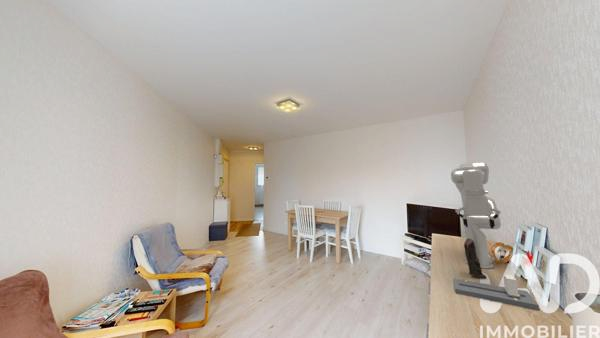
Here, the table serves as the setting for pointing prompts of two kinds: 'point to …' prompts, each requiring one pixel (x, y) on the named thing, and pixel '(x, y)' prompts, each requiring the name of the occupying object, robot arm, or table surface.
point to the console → (494, 293)
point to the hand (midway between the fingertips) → (478, 227)
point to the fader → (511, 285)
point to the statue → (473, 260)
